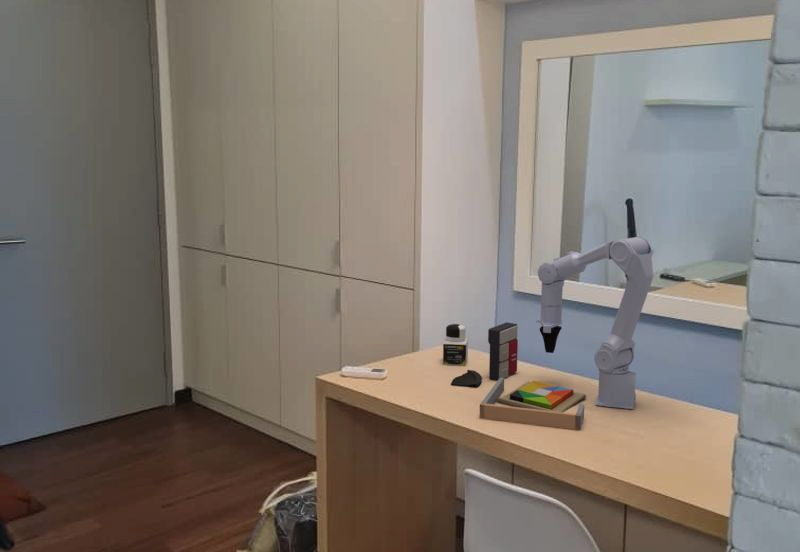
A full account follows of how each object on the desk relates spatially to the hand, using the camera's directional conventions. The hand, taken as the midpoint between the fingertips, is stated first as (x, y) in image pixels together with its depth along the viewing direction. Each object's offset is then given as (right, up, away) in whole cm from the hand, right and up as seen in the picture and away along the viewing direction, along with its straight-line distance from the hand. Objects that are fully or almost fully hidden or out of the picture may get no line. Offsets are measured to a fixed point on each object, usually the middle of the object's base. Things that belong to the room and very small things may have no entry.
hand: (549, 352), depth 210 cm
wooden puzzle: (-4, -12, -11) cm, 17 cm away
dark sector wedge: (-22, -10, +5) cm, 25 cm away
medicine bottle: (-25, -6, +24) cm, 35 cm away
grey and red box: (-12, -8, +10) cm, 18 cm away
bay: (-7, -13, -18) cm, 23 cm away
